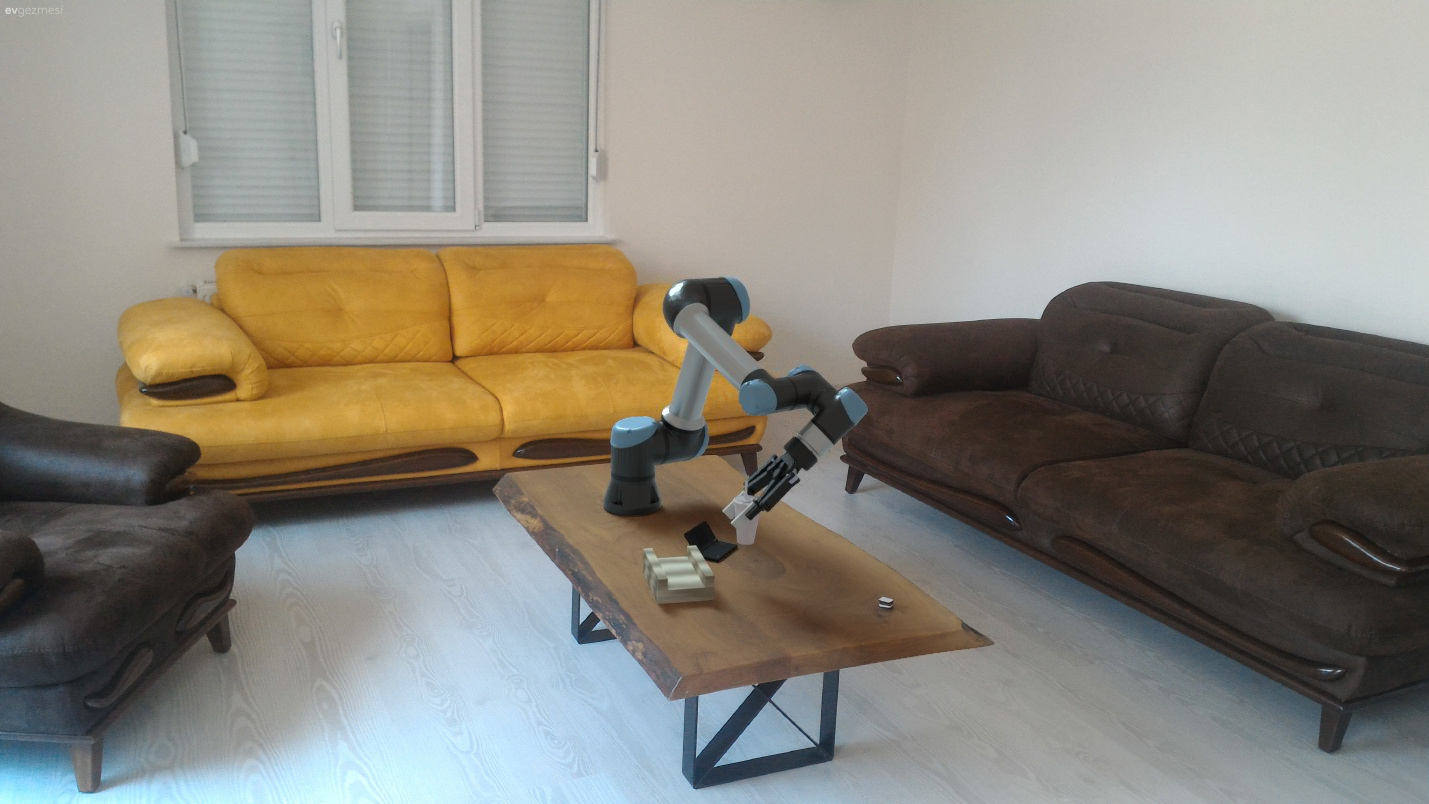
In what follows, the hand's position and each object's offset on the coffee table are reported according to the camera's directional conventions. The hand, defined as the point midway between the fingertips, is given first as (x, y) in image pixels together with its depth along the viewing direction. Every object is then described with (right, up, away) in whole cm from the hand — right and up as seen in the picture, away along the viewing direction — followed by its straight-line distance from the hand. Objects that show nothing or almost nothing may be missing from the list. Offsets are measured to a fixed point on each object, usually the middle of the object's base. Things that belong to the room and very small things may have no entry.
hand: (730, 521), depth 220 cm
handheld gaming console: (-4, -10, +20) cm, 23 cm away
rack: (-12, -14, 0) cm, 18 cm away
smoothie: (+3, -5, +2) cm, 6 cm away
